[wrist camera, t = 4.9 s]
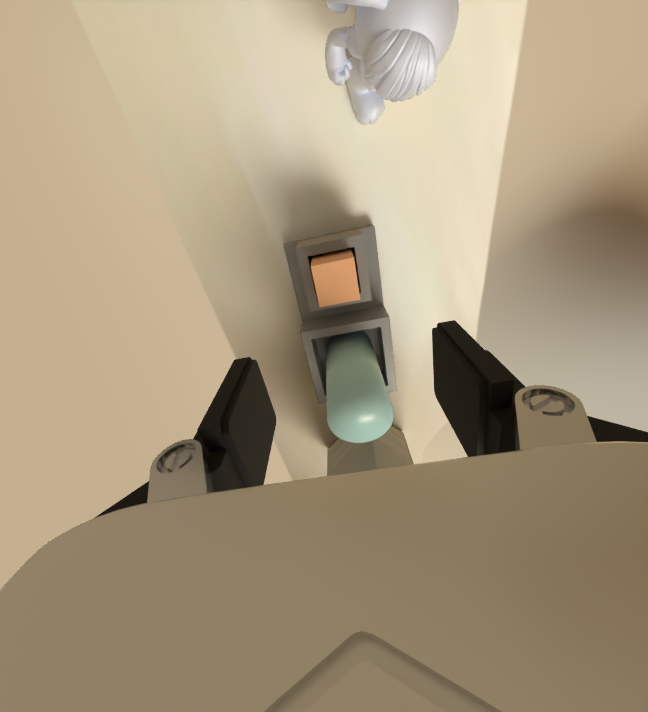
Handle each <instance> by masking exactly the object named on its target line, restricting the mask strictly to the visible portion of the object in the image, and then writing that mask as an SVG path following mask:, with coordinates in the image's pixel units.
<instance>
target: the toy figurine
mask: <svg viewBox="0 0 648 712" xmlns="http://www.w3.org/2000/svg"><path fill="white" fill-rule="evenodd" d="M325 3H326V5H327V7H328V8H329V9H331V10H332V11H334V12H336V13H345V12H346V10H347V7H348V4H349V5H355V6H356V19H355V20H356V24H355V25H354V26H353V27H352V26H351V27H349V28H346V27H344V28H337V29H334V30H333V31H331V32H330V34H329V36H328V39H327V43H326V49H325V61H326V68H327V73H328V76H329V78H330V80H331V81H332V82H333V83H334V84H335V85H337V86H340V85H343V84H344V83H345V80H346V84H347V87H348V91H349V95H350V99H351V103H352V106H353V109H354V112H355V114H356V118H357V120H358V122H359V123H360V124H363V125H366V124H368V123H369V124H375V123H376V122H377V120H378V117H379V116H381V115H382V114H383V112H384V109H385V105H384V100H383V98H384V99H385V100H390V101H391V102H398V101H404V100H408V99H411V98H412V97H413V96H414V95H415V94H416V95H419V94H421V93H422V91H425V90H427V89H428V88H430V87H431V86H432V85H433V83H434V81H435V75H436V68H437V66H438V65H439V64H440V62H441V61H442V59H443V57H444V56H445V54H446V52H447V50H448V48H449V46H450V44H451V42H452V39H453V36H454V33H455V29H456V25H457V20H458V10H459V3H460V0H325ZM345 48H347V49H348V51H349V53H350V54H351V55H352V56H353V57H350V58H347V55H346V52H345Z"/></svg>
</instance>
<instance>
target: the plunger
mask: <svg viewBox="0 0 648 712" xmlns="http://www.w3.org/2000/svg"><path fill="white" fill-rule="evenodd" d="M311 270H312V275H313V279H314V284H315V288H316V293H317V298H318V302H319V307H324V306H329V305H335V304H340V303H345V302H350V301H356V300H360V294H359V287H358V281H357V274H356V267H355V260H354V256H353V254H352V252H351V249H350V248H346V249H341V250H336V251H332V252H327V253H322V254H317V255H313V256H312V262H311Z"/></svg>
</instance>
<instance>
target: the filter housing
mask: <svg viewBox="0 0 648 712" xmlns="http://www.w3.org/2000/svg"><path fill="white" fill-rule="evenodd" d="M284 248H285V252H286V256H287V260H288V264H289V269H290V273H291V277H292V281H293V285H294V289H295V293H296V297H297V301H298V305H299V309H300V313H301V317H302V327H301V333H300V334H301V337H302V341H303V345H304V349H305V353H306V357H307V361H308V365H309V368H310V372H311V376H312V380H313V384H314V388H315V392H316V396H317V400H318V403H325V402H327V391H326V344H327V341H328V339H329V338H330V337H331V336H333V335H339V334H344V333H350V332H355V331H363V332H364V333H366V334H367V335H368V337H369V338H370V340H371V343H372V346H373V349H374V352H375V355H376V358H377V361H378V364H379V367H380V371H381V374H382V377H383V380H384V383H385V386H386V389H387V392H393V391H397V386H396V376H395V367H394V357H393V348H392V338H391V329H390V320H389V315H388V313H387V312H386V310H385V308H384V306H383V297H382V288H381V279H380V271H379V262H378V253H377V244H376V235H375V226H373V225H371V226H367V227H362V228H357V229H353V230H348V231H343V232H339V233H334V234H329V235H324V236H320V237H315V238H310V239H306V240H301V241H296V242H291V243H287V244H285V245H284ZM346 248H350V249H351V252H352V254H353V256H354V260H355V267H356V274H357V281H358V287H359V294H360V300H356V301H350V302H345V303H340V304H335V305H329V306H324V307H319V302H318V298H317V293H316V288H315V284H314V279H313V275H312V270H311V262H312V256H313V255H317V254H322V253H327V252H332V251H336V250H341V249H346Z"/></svg>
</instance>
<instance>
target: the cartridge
mask: <svg viewBox="0 0 648 712" xmlns="http://www.w3.org/2000/svg"><path fill="white" fill-rule="evenodd" d="M326 391H327V423H328V426H329V428H330V430H331V431H332V432H333V433H334V434H335V435H336V436H337V437H339V438H340V439H342V440H345V441H348V442H353V443H364V442H369V441H372V440H375V439H377V438H379V437H381V436H382V435H383V434H385V433H386V432H387V431H388V429H389V428H390V426H391V425H392V422H393V418H394V412H393V408H392V405H391V402H390V398H389V395H388V392H387V389H386V386H385V383H384V380H383V377H382V374H381V371H380V367H379V364H378V361H377V358H376V355H375V352H374V349H373V346H372V343H371V340H370V338H369V337H368V335H367V334H366V333H364V332H363V331H355V332H350V333H344V334H339V335H333V336H331V337H330V338H329V339H328V341H327V344H326Z"/></svg>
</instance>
